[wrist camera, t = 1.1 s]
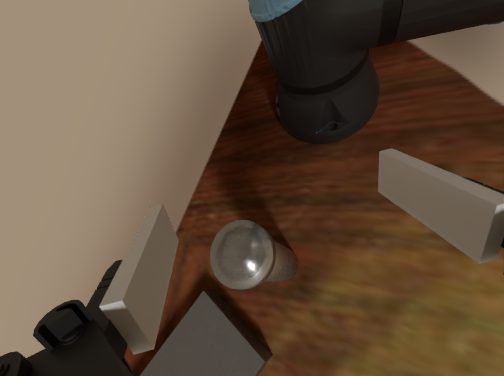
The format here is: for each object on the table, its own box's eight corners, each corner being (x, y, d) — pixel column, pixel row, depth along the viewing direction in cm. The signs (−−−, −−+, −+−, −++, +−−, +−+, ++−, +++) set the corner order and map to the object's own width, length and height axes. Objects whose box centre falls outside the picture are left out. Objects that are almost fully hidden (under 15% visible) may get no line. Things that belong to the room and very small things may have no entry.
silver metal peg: (278, 234, 34) (236, 207, 21) (311, 260, 31) (285, 246, 19) (254, 266, 33) (198, 258, 21) (285, 296, 30) (242, 305, 18)
